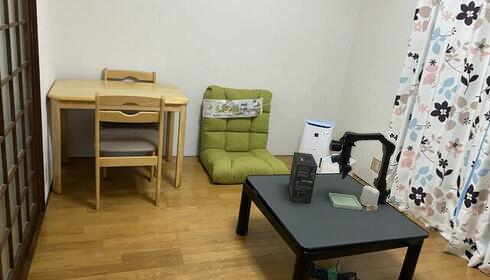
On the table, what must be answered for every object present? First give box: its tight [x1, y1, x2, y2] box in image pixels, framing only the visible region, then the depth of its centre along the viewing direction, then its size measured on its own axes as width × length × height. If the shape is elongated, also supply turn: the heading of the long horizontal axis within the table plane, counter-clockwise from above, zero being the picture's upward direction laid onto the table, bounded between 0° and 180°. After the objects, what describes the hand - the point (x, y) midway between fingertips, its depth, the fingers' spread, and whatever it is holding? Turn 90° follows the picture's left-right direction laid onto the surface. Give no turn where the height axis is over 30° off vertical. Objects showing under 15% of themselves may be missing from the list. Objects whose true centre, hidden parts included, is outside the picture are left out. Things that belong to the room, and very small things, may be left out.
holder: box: [358, 195, 379, 213], centre depth 228 cm, size 6×14×4 cm, turn 0°
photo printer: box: [359, 185, 379, 207], centre depth 227 cm, size 10×4×12 cm, turn 39°
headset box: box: [288, 151, 319, 204], centre depth 228 cm, size 22×12×26 cm, turn 179°
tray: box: [328, 192, 363, 211], centre depth 227 cm, size 16×16×2 cm
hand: (341, 176), depth 232 cm, fingers open, 9 cm apart
